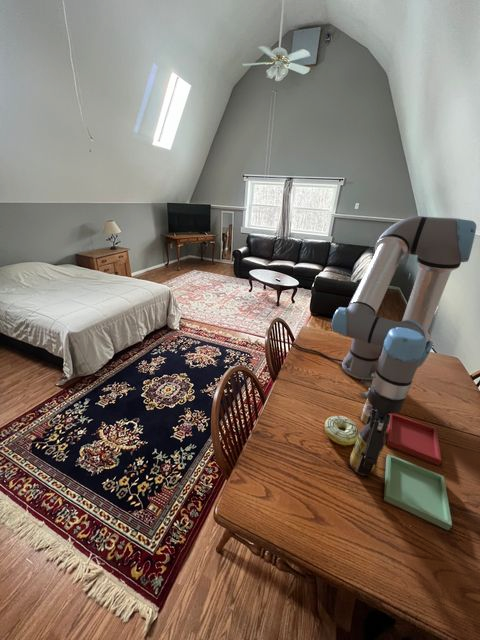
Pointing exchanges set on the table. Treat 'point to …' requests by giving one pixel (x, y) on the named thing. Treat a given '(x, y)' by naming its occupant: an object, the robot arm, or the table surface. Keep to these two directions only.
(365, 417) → the sprinkles bottle
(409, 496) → the green tray
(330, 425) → the decorated donut
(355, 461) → the sauce bottle
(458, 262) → the robot arm
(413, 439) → the red tray
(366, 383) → the eagle figurine
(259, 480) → the table surface
